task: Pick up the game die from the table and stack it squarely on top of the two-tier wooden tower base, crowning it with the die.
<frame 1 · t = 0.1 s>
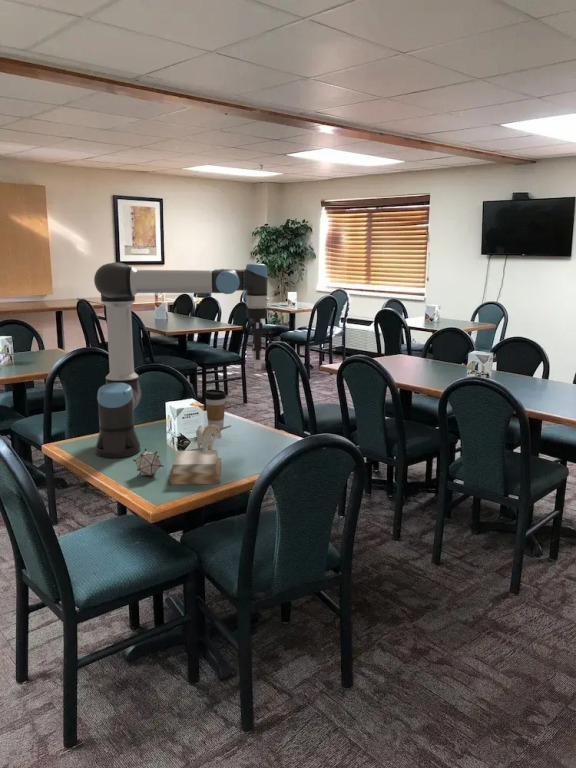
hand: (257, 365, 228), 28 cm above the table, tool pointing down, fingers open, 13 cm apart
coffee cup: (215, 428, 247), on the table
unicorn figurine: (214, 457, 212), on the table
game die: (148, 475, 195), on the table
tower base: (196, 475, 195), on the table
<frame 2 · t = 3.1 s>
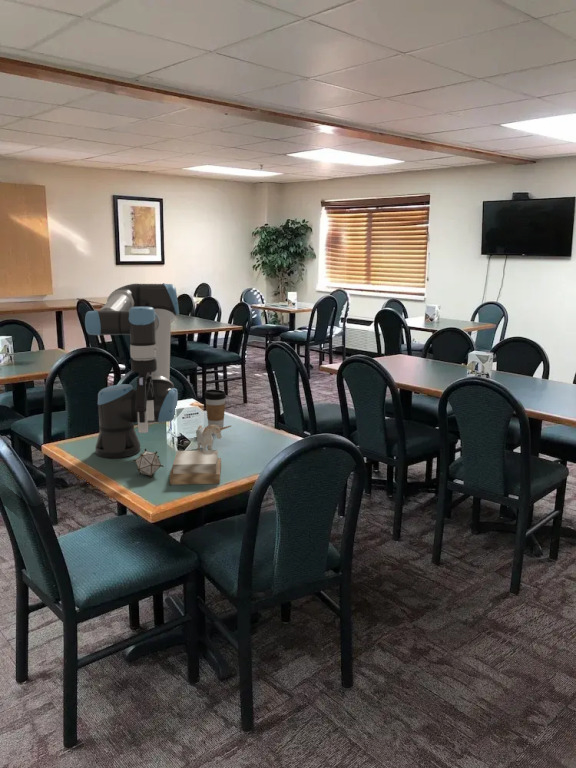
hand: (146, 426, 192), 16 cm above the table, tool pointing down, fingers open, 13 cm apart
nothing on the table moved.
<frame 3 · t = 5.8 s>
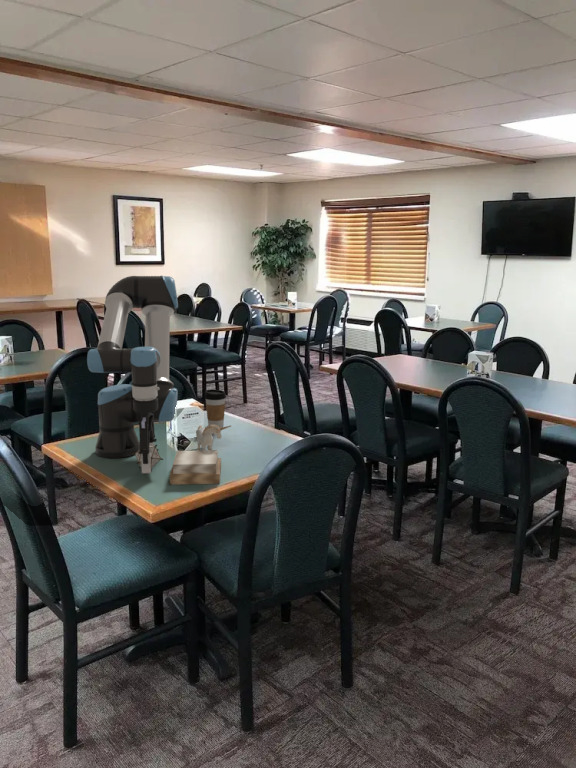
hand: (148, 467, 195), 2 cm above the table, tool pointing down, fingers closed on game die, 8 cm apart
game die: (148, 469, 196), point 2 cm above the table, touching gripper
everything else where it was.
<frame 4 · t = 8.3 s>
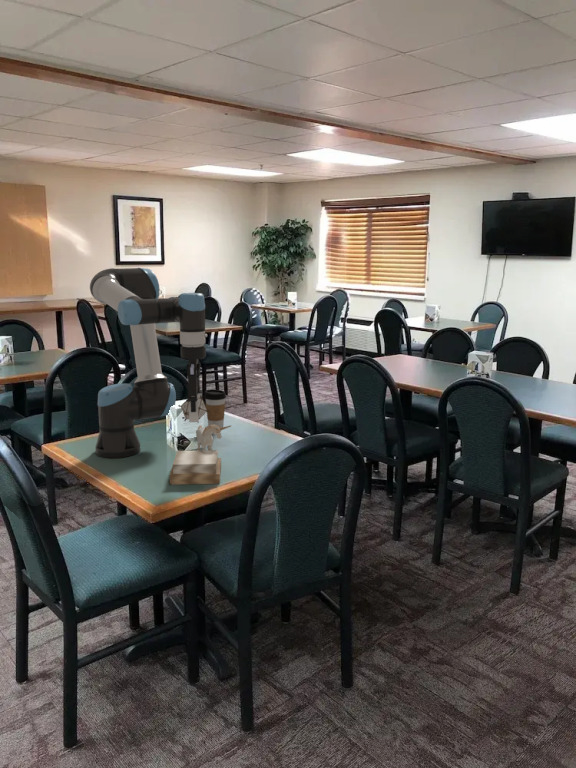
hand: (195, 417, 191), 19 cm above the table, tool pointing down, fingers closed on game die, 8 cm apart
game die: (194, 421, 192), point 18 cm above the table, touching gripper
everything else where it was.
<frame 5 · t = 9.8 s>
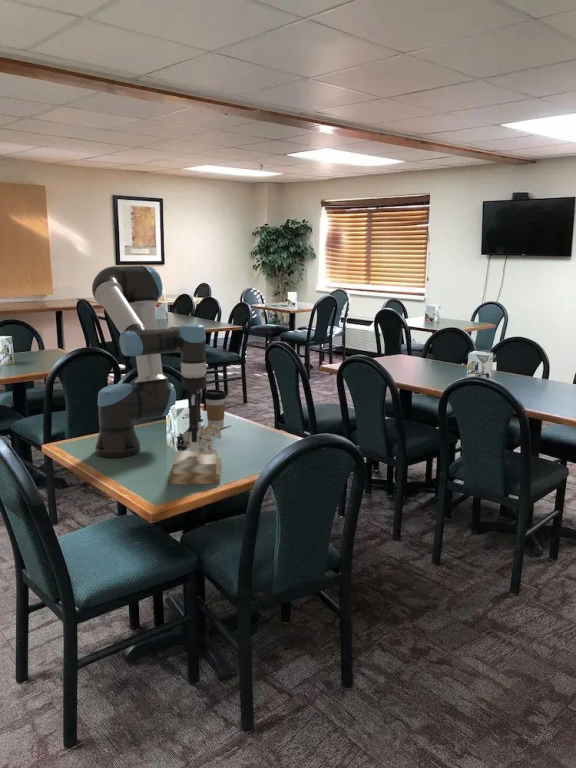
hand: (195, 446, 193), 9 cm above the table, tool pointing down, fingers closed on game die, 8 cm apart
game die: (195, 450, 194), point 8 cm above the table, touching gripper
everything else where it was.
when the fingers open (8 cm above the table, at t = 10.9 s): game die drops 1 cm, resting on tower base.
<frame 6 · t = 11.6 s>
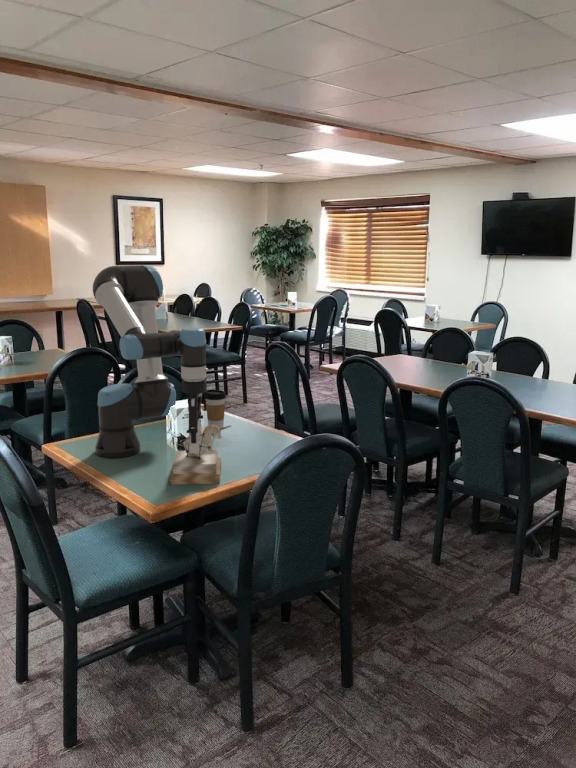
hand: (195, 445, 193), 10 cm above the table, tool pointing down, fingers open, 13 cm apart
game die: (195, 457, 194), point 6 cm above the table, touching tower base
everything else where it was.
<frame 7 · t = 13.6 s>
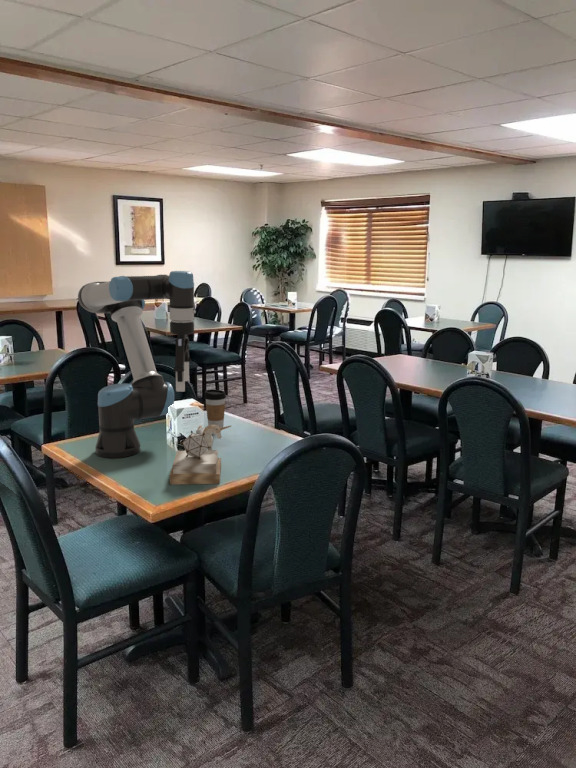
hand: (182, 386, 201), 26 cm above the table, tool pointing down, fingers open, 13 cm apart
nothing on the table moved.
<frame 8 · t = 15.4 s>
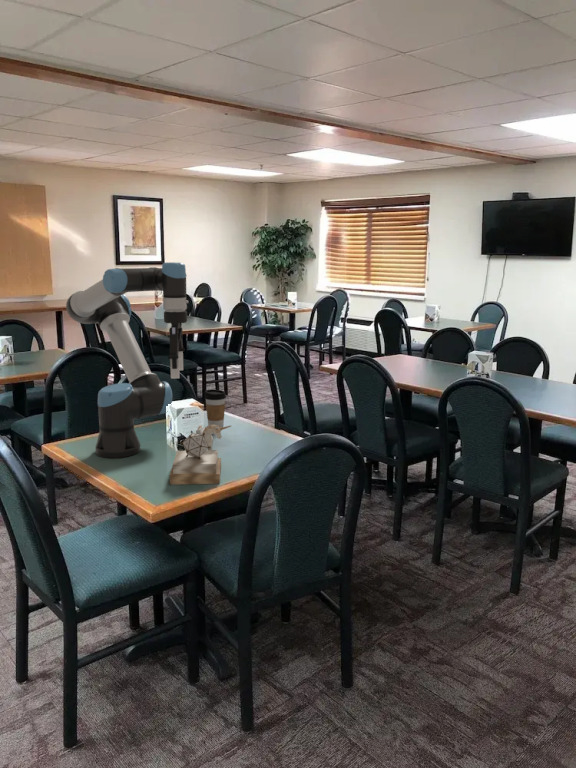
hand: (177, 374, 207), 29 cm above the table, tool pointing down, fingers open, 13 cm apart
nothing on the table moved.
at the end: game die 0.1 cm off-centre on the tower base, point 5.8 cm above the tower base's base; game die tilted 0°; the gripper is holding nothing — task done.
